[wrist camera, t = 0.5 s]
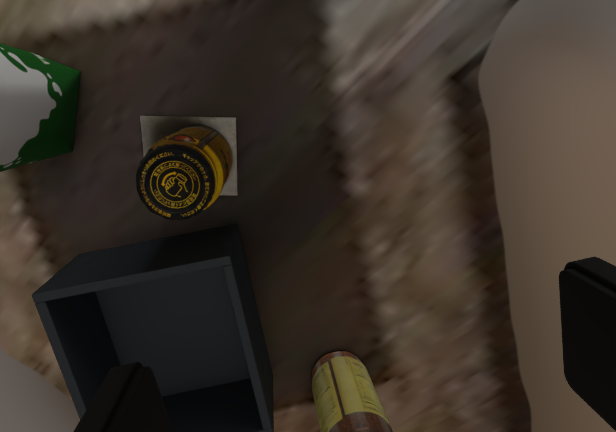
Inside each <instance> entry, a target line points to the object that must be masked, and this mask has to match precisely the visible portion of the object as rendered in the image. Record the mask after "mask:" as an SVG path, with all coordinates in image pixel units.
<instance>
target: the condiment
mask: <svg viewBox="0 0 616 432" xmlns="http://www.w3.org/2000/svg"><path fill="white" fill-rule="evenodd" d="M140 122H141V131H142V143H143V155H144V158H143V159H142V160H141V162H140V165H139V167H138V170H137V174H136V186H137V191H138V194H139V196H140V198H141V200H142V202H143V203H144V204H145V205H146V207H147V208H148V209H149V210H150V211H151V212H153V213H155V214H157V215H159V216H161V217H163V218H166V219H172V220H182V219H188V218H191V217H192V216H196V215H197V214H198V213H200V212H202V211H203V210H205V209H206V208H208V207H209V206H210V205H211V204H212V203H214V202H215V200H216V199H217V198H218V197H219V195H234V196H237V146H236V118H227V117H176V116H140Z"/></svg>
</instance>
